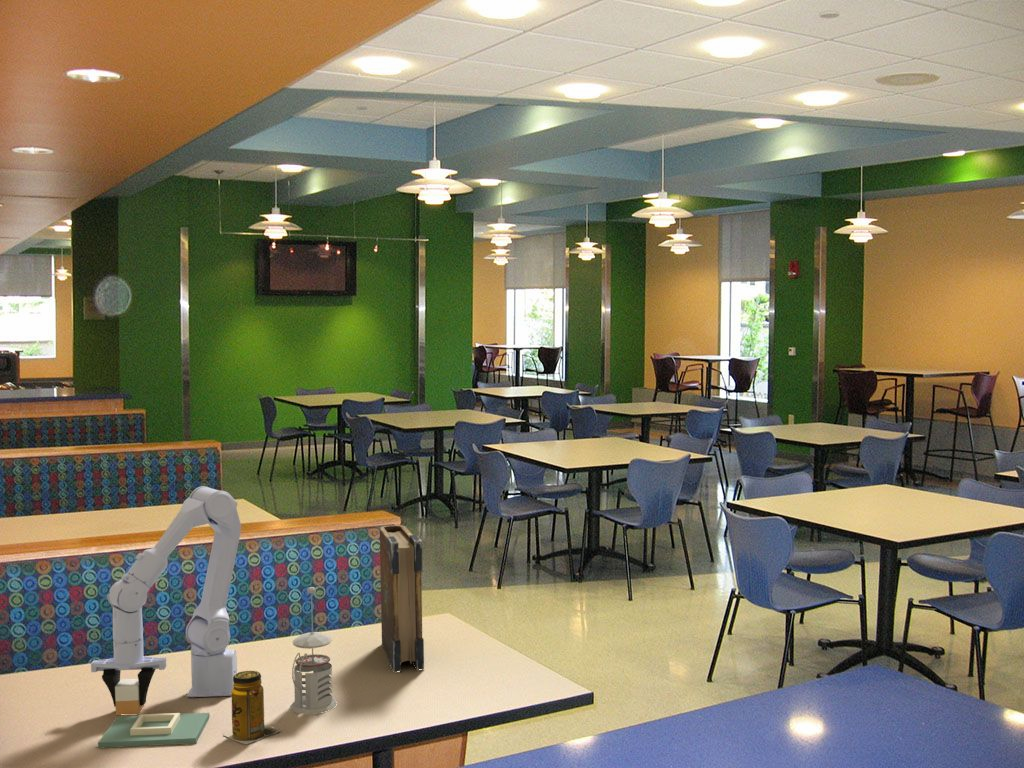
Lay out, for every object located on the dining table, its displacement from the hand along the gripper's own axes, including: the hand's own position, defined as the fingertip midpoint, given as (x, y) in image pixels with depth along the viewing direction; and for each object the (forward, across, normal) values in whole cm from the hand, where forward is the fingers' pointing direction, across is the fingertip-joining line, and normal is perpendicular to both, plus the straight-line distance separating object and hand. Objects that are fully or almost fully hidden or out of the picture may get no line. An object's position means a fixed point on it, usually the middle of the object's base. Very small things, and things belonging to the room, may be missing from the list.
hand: (130, 704), depth 212 cm
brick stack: (+1, 0, 0) cm, 1 cm away
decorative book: (+2, +55, +29) cm, 62 cm away
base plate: (+1, +8, -12) cm, 14 cm away
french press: (+2, +37, -2) cm, 37 cm away
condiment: (+2, +27, -15) cm, 31 cm away
